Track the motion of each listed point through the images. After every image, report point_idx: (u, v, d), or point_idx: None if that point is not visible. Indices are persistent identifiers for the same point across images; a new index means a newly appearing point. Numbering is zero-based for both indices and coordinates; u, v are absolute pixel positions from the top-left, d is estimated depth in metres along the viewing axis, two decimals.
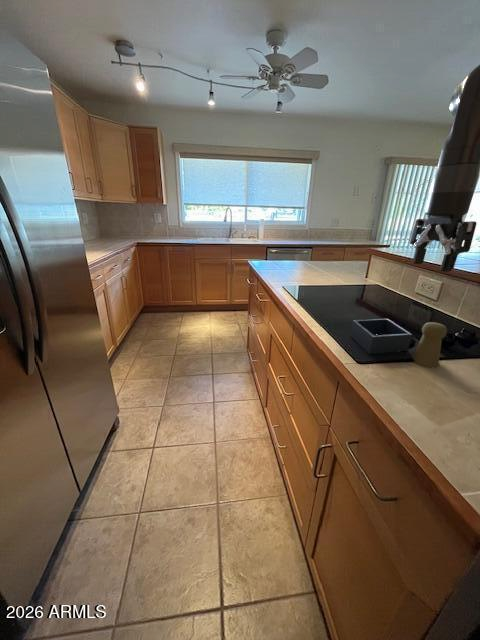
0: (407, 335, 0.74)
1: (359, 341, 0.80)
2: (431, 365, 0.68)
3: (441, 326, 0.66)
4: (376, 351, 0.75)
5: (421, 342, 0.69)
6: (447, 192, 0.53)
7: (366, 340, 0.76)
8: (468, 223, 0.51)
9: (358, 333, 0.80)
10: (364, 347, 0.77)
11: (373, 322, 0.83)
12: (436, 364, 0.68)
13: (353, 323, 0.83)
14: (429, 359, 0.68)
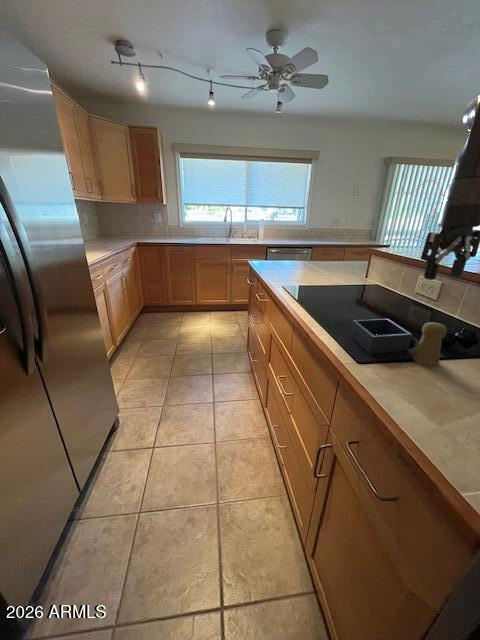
0: (407, 335, 0.74)
1: (359, 341, 0.80)
2: (431, 365, 0.68)
3: (441, 326, 0.66)
4: (376, 351, 0.75)
5: (421, 342, 0.69)
6: (442, 205, 0.57)
7: (366, 340, 0.76)
8: (431, 234, 0.56)
9: (358, 333, 0.80)
10: (364, 347, 0.77)
11: (373, 322, 0.83)
12: (436, 364, 0.68)
13: (353, 323, 0.83)
14: (429, 359, 0.68)
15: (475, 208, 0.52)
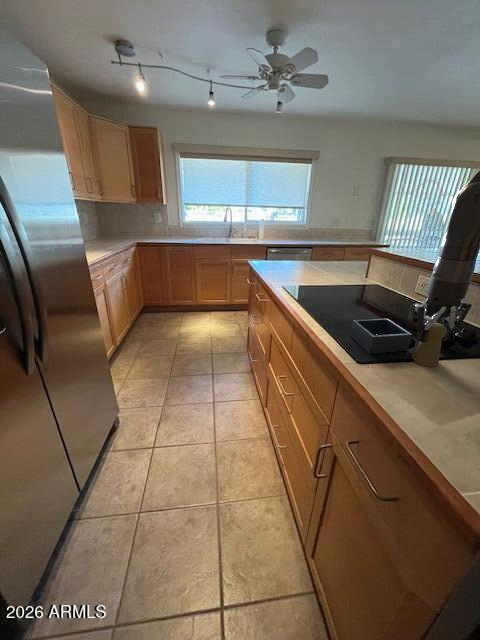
0: (407, 335, 0.74)
1: (359, 341, 0.80)
2: (431, 365, 0.68)
3: (441, 326, 0.66)
4: (376, 351, 0.75)
5: (421, 342, 0.69)
6: (431, 276, 0.64)
7: (366, 340, 0.76)
8: (415, 306, 0.64)
9: (358, 333, 0.80)
10: (364, 347, 0.77)
11: (373, 322, 0.83)
12: (436, 364, 0.68)
13: (353, 323, 0.83)
14: (429, 359, 0.68)
15: (455, 286, 0.59)
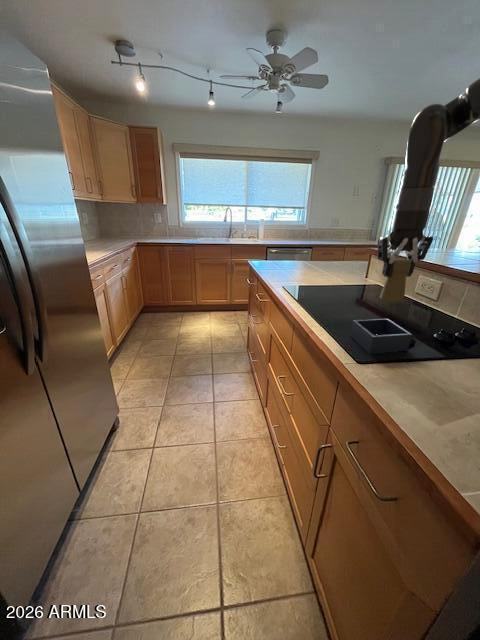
0: (407, 335, 0.74)
1: (359, 341, 0.80)
2: (397, 300, 0.71)
3: (405, 260, 0.68)
4: (376, 351, 0.75)
5: (387, 278, 0.71)
6: None
7: (366, 340, 0.76)
8: (379, 239, 0.67)
9: (358, 333, 0.80)
10: (364, 347, 0.77)
11: (373, 322, 0.83)
12: (401, 299, 0.71)
13: (353, 323, 0.83)
14: (394, 294, 0.70)
15: (414, 214, 0.61)
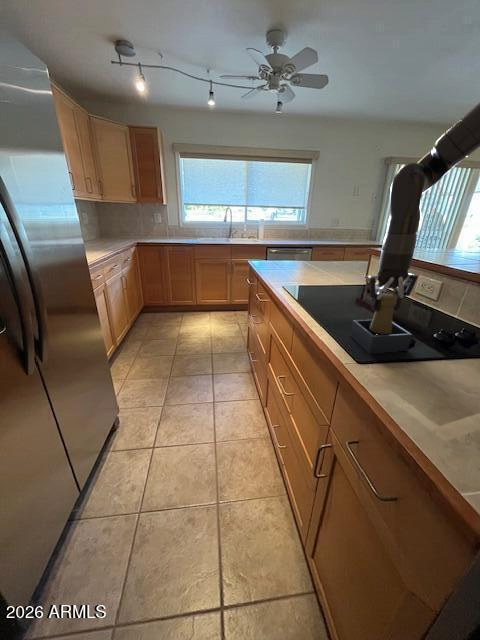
0: (407, 335, 0.74)
1: (359, 341, 0.80)
2: (384, 332, 0.76)
3: (392, 296, 0.73)
4: (376, 351, 0.75)
5: (376, 312, 0.76)
6: None
7: (366, 340, 0.76)
8: (367, 277, 0.72)
9: (358, 333, 0.80)
10: (364, 347, 0.77)
11: None
12: (389, 331, 0.76)
13: (353, 323, 0.83)
14: (382, 326, 0.75)
15: (399, 257, 0.66)
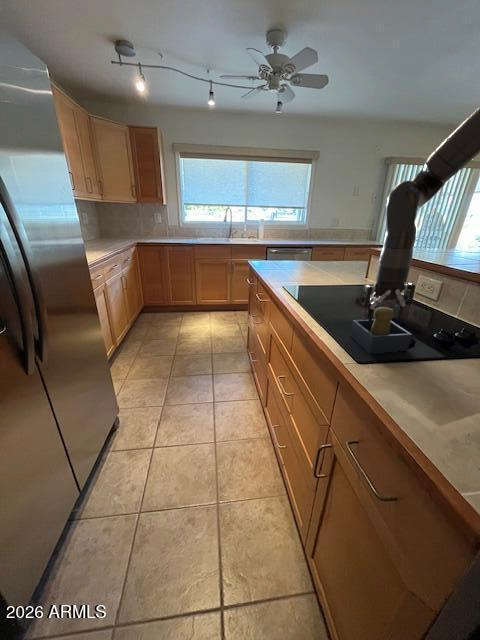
0: (407, 335, 0.74)
1: (359, 341, 0.80)
2: None
3: (388, 310, 0.75)
4: (376, 351, 0.75)
5: (373, 324, 0.78)
6: None
7: (366, 340, 0.76)
8: (365, 286, 0.73)
9: (358, 333, 0.80)
10: (364, 347, 0.77)
11: None
12: None
13: (353, 323, 0.83)
14: None
15: (395, 271, 0.68)
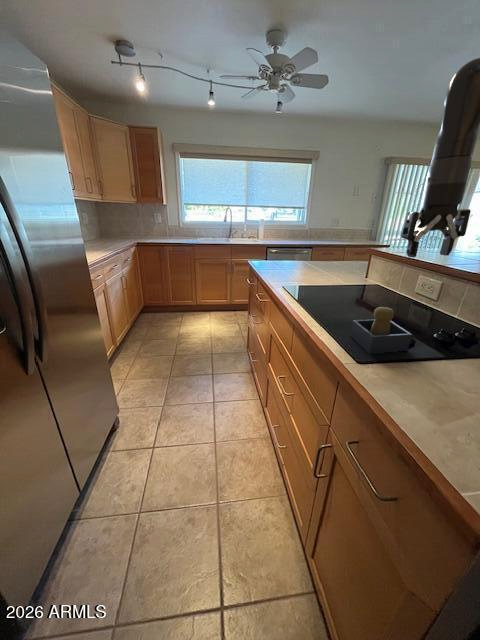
0: (407, 335, 0.74)
1: (359, 341, 0.80)
2: None
3: (388, 310, 0.75)
4: (376, 351, 0.75)
5: (373, 324, 0.78)
6: None
7: (366, 340, 0.76)
8: (409, 213, 0.61)
9: (358, 333, 0.80)
10: (364, 347, 0.77)
11: None
12: None
13: (353, 323, 0.83)
14: None
15: (450, 187, 0.55)
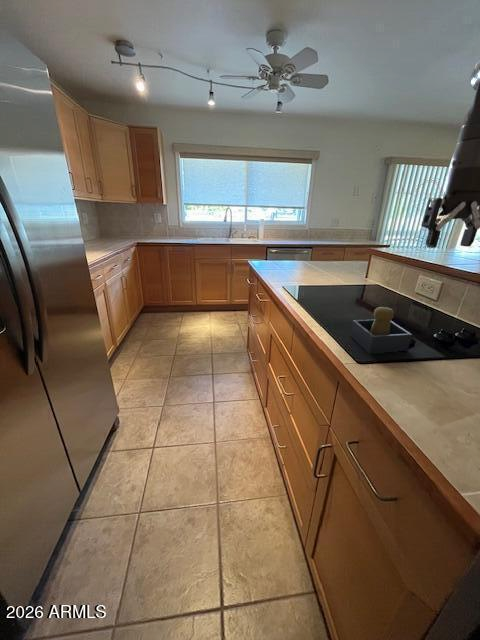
0: (407, 335, 0.74)
1: (359, 341, 0.80)
2: None
3: (388, 310, 0.75)
4: (376, 351, 0.75)
5: (373, 324, 0.78)
6: None
7: (366, 340, 0.76)
8: (431, 199, 0.57)
9: (358, 333, 0.80)
10: (364, 347, 0.77)
11: None
12: None
13: (353, 323, 0.83)
14: None
15: (477, 170, 0.51)
